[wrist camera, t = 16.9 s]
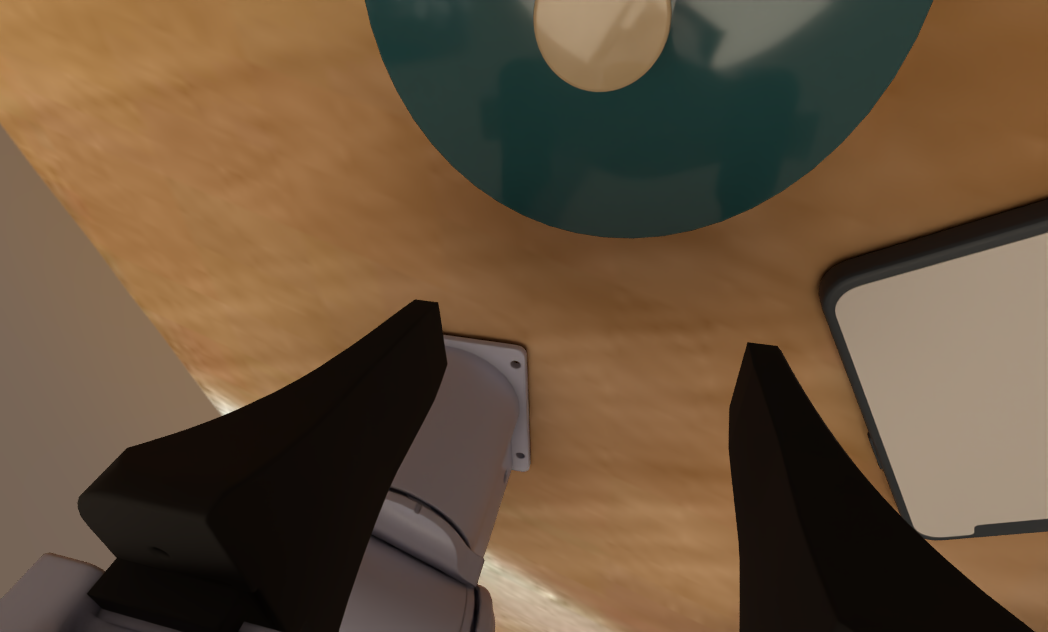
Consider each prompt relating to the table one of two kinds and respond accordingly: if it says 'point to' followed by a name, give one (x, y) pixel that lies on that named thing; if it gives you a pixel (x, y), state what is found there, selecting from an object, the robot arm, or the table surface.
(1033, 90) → the table surface
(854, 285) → the phone case
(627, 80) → the lid
